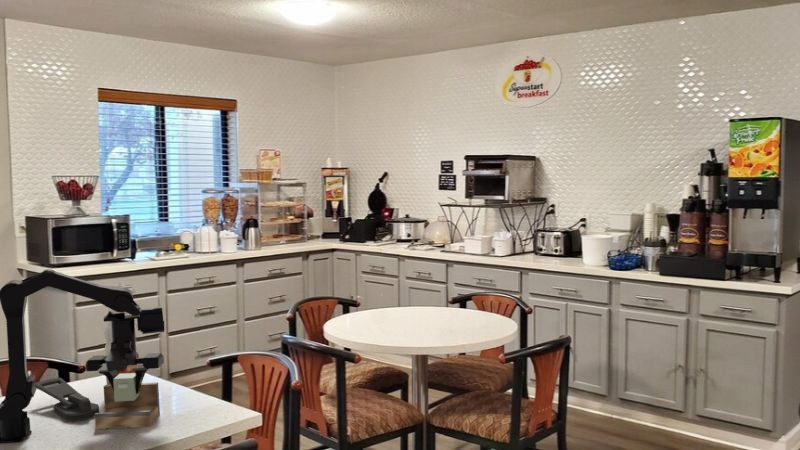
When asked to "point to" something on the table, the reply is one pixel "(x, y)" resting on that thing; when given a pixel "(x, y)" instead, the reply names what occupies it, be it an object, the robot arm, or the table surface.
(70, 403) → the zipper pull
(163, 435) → the table surface
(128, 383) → the cabinet block
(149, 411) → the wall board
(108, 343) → the fruit juice
